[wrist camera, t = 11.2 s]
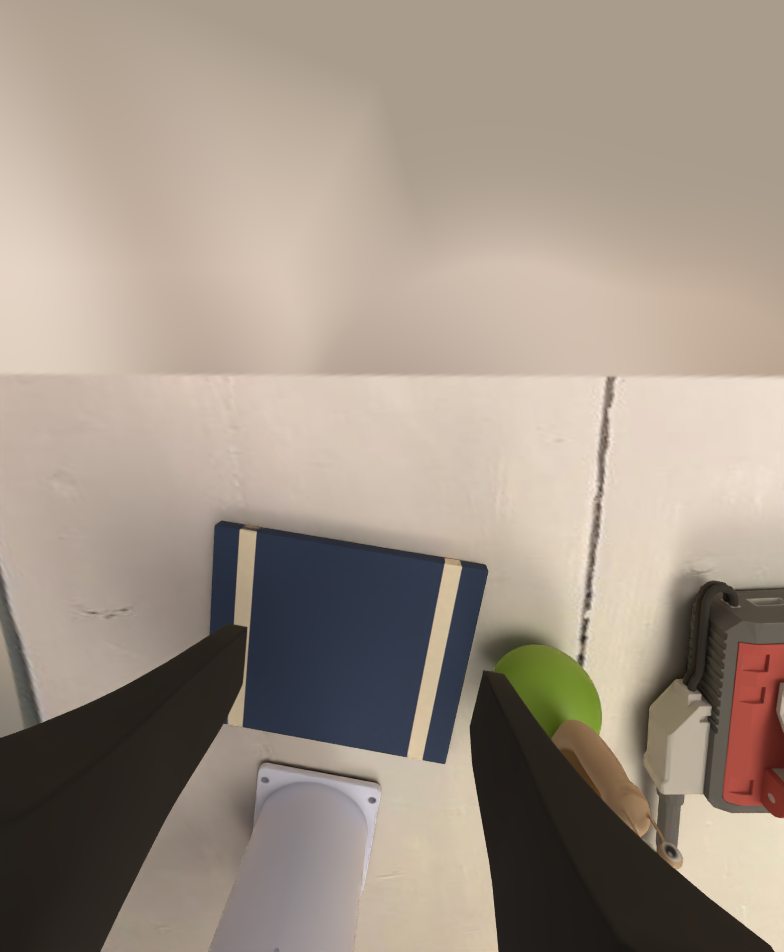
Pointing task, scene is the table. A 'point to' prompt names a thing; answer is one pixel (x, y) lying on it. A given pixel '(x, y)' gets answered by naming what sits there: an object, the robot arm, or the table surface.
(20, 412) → the table surface
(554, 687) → the snail figurine
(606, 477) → the table surface
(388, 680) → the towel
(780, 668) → the walkie-talkie
